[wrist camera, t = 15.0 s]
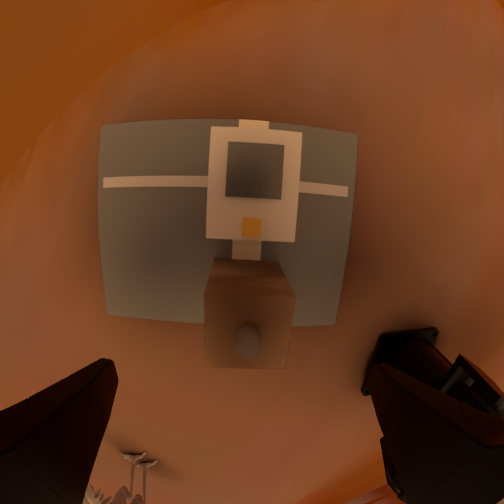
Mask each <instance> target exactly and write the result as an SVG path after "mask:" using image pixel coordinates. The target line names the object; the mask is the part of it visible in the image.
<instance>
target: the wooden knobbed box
mask: <svg viewBox="0 0 504 504" xmlns="http://www.w3.org/2000/svg"><path fill="white" fill-rule="evenodd" d="M295 301H296V297H295V295H294V293H293V291H292V288H291V286H290V284H289V282H288V280H287V278H286V276H285V274H284V272H283V270H282V268H281V266H280V264H279V261H262V260H241V259H222V258H214V261H213V264H212V268H211V271H210V275H209V278H208V282H207V285H206V288H205V292H204V346H205V366H206V367H223V368H250V369H285V366H286V360H287V354H288V348H289V342H290V335H291V329H292V322H293V315H294V308H295Z"/></svg>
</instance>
